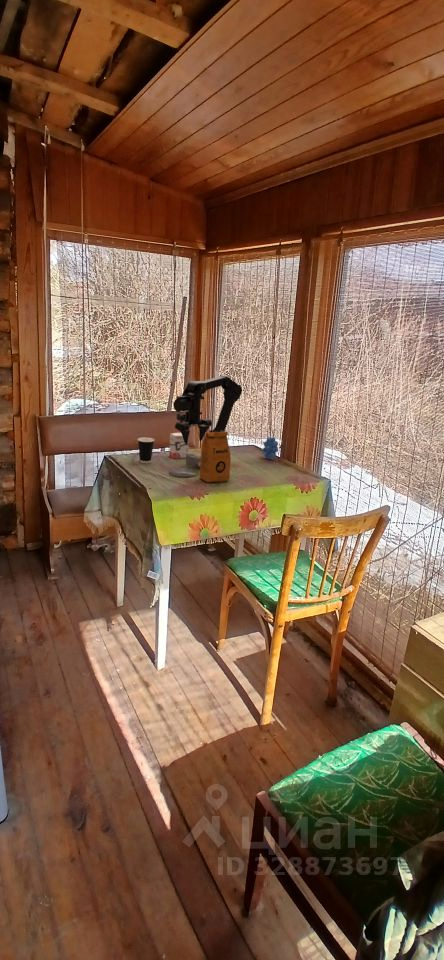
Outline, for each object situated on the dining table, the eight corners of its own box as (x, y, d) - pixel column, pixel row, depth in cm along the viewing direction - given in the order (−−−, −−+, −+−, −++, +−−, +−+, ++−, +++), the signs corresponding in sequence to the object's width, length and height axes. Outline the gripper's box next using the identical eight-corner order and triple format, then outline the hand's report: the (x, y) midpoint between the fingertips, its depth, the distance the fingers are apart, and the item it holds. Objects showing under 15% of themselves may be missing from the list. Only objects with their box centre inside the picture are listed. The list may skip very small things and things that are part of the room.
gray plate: (185, 468, 259) (185, 466, 259) (201, 475, 251) (201, 473, 251) (164, 471, 252) (164, 470, 251) (180, 479, 243) (180, 477, 243)
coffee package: (232, 482, 243) (235, 433, 237) (206, 484, 238) (209, 434, 231) (222, 476, 252) (225, 428, 245) (197, 478, 246) (200, 429, 240)
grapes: (282, 461, 283) (285, 438, 280) (272, 462, 280) (274, 439, 276) (269, 455, 293) (271, 433, 289) (259, 456, 289) (261, 434, 286)
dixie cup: (155, 463, 264) (156, 441, 260) (139, 464, 260) (140, 441, 257) (151, 459, 270) (151, 437, 267) (135, 459, 267) (135, 437, 264)
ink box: (173, 458, 274) (174, 435, 271) (168, 456, 278) (169, 433, 275) (188, 457, 279) (189, 434, 275) (183, 454, 283) (184, 432, 279)
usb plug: (190, 463, 269) (190, 453, 267) (206, 469, 260) (207, 459, 259) (183, 464, 266) (184, 454, 265) (200, 470, 258) (200, 460, 256)
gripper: (196, 404, 267) (195, 435, 272) (167, 408, 254) (166, 441, 259) (213, 408, 259) (211, 440, 264) (183, 412, 246) (182, 446, 251)
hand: (193, 442), depth 260 cm, fingers open, 9 cm apart
